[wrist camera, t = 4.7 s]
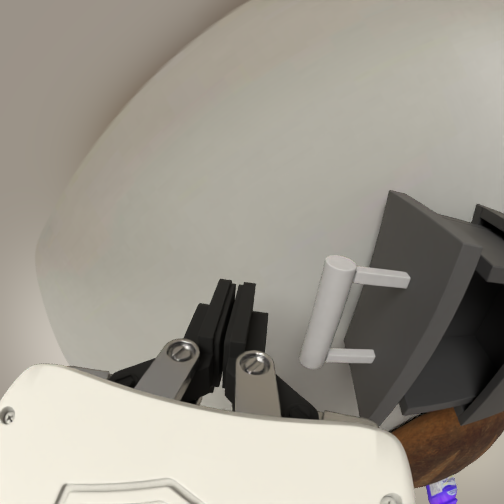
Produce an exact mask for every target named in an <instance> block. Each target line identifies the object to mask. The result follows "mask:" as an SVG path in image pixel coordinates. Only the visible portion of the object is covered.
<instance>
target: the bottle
mask: <svg viewBox="0 0 504 504" xmlns="http://www.w3.org/2000/svg"><path fill="white" fill-rule="evenodd" d="M426 489H427V494H428V500H429V502H430V504H456V502H457V499H456V498H455V496H456V493H457V487H456V483H455V478H454V475H452V476H450V477H448V478H446V479H444V480H441V481H439V482H436V483H433V484H430V485H427V486H426Z"/></svg>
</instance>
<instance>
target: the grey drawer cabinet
mask: <svg viewBox="0 0 504 504" xmlns="http://www.w3.org/2000/svg"><path fill="white" fill-rule="evenodd" d="M472 223H473V224H477V225H480V226H483V227H487V228H490V229H493V230H496V231H500V232H503V233H504V213H501V212H498V211H496V210H493V209H491V208H488V207H485V206H482V205H480V204H477V205H476V209H475V213H474V217H473V220H472ZM453 408H454V410H455V413H456V415H457V417H458V421H459V423H460V426H463V425H466V424H469V423H472V422H476V421H478V420H481V419H484V418H487V417H490V416H492V415H495V414H498V413H500V412H503V411H504V363H503V365H502V366H501V367H500V369H499V370H498V372H497V373H496V374H495V376H494V377H493V378H492V379H491V381H490V382H489V383H488V385H487V386H486V387H485V388H484V389H483V391H482V392H481V393H480V394H479V395H478V397H477V398H476V399H475V400H474V401H473V402H472V403H468V404H464V405H460V406H455V407H453Z"/></svg>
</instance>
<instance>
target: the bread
mask: <svg viewBox="0 0 504 504" xmlns="http://www.w3.org/2000/svg"><path fill="white" fill-rule="evenodd" d="M503 431H504V411H503V412H500V413H498V414H495V415H492V416H490V417H487V418H484V419H481V420H478V421H476V422H472V423H469V424H466V425H463V426H460V423H459V421H458V417H457V415H456V413H455V410H454V408H453V407H451V408H446V409H441V410H436V411H430V412H427V413H425V414H423V415H421V416H419V417H417V418H415V419H413V420H412V421H410V422H408V423H407V424H405V425H403V426H401V427H400V428H398V429H396V430H395V431H393V432H392V434H393V435H394V436H396V437H397V438H398V440H399V441H400V442H401V444H402V446H403V448H404V450H405V452H406V455H407V458H408V462H409V466H410V470H411V474H412V480H413V485H414V488H418V487H423V486H427V485H430V484H433V483H436V482H439V481H441V480H444V479H446V478H448V477H450V476H452V475H454V474H456V473H458V472H459V471H461V470H462V469H464V468H465V467H466V466H468V465H469V464H471V463H472V462H474V461H475V460H477V459H478V458H479V457H480V456H481V455H483V454H484V453H485V452H486V451H487V450H488V449H489V448H490V447H491V446H492V444H493V443H494V442H495V441H496V440H497V439H498V437H499V436H500V435H501V434H502V432H503Z"/></svg>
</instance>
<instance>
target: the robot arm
mask: <svg viewBox="0 0 504 504" xmlns="http://www.w3.org/2000/svg"><path fill="white" fill-rule="evenodd" d="M255 286H256V284H254V283H247V282H244V285H239V287H238V291H237V294H236V298H235V290H236V284H232V280H225V279H220V280H219V282H218V285H217V287H216V290H215V292H214V295H213V297H212V300H211V303H210V305H208V304H202V303H199V305H198V306H197V309H196V311H195V313H194V315H193V318H192V320H191V322H190V325H189V327H188V329H187V331H186V334H185V336H184V338H183V339H175V340H172V341H170V342H168V343H167V344H166V345H165V346H164V348H163V349H162V350H161V352H160V353H159V354H158V356H157V357H156V358H154V359H151V360H149V361H146V362H143V363H140V364H137V365H135V366H132V367H129V368H126V369H123V370H120V371H118V372H115V373H114V374H110V373H109V371H102V370H95V369H88V368H82V367H76V366H63V365H57V364H36V365H33V366H31V367H29V368H28V369H26V370H25V371H24V372H23V373H22V374H21V375H20V376H19V377H18V378H17V379H16V380H15V381H14V383H13V384H12V385H11V386H10V388H9V389H8V391H7V392H6V393H5V395H4V396H3V398H2V399H1V400H0V504H416V501H415V492H414V485H413V480H412V474H411V470H410V466H409V462H408V458H407V455H406V452H405V450H404V448H403V446H402V444H401V442H400V441H399V440H398V438H397V437H396V436H394V435H393V434H392V433H390V432H388V431H386V430H383V429H381V428H379V426H378V425H377V423H376V422H374V421H373V420H371V419H368V418H362V417H356V416H351V415H345V414H340V413H335V412H330V411H326V410H325V411H324V412H319V411H317V410H316V409H315V408H314V407H313V406H312V405H311V404H310V403H309V402H308V401H306V400H305V399H304V398H303V397H302V396H300V395H299V394H298V393H297V392H296V391H294V390H293V389H292V388H291V387H290V386H289V385H287V384H286V383H285V382H284V381H283V380H282V379H281V378H279V377H278V376H277V375H276V374H275V367H274V362H273V360H272V358H271V357H270V356H269V355H267V354H266V353H265V345H266V334H267V323H268V313H263V312H255V311H253V303H254V295H255ZM222 372H223V384H222V388H225V396H226V397H227V398H228V399H229V401H230V402H231V403H232V411H227V410H221V409H215V408H210V407H205V406H200V403H201V401H202V396H204V395H206V394H208V393H213V390H214V386H215V387H219V385H220V381H221V377H222Z"/></svg>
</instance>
